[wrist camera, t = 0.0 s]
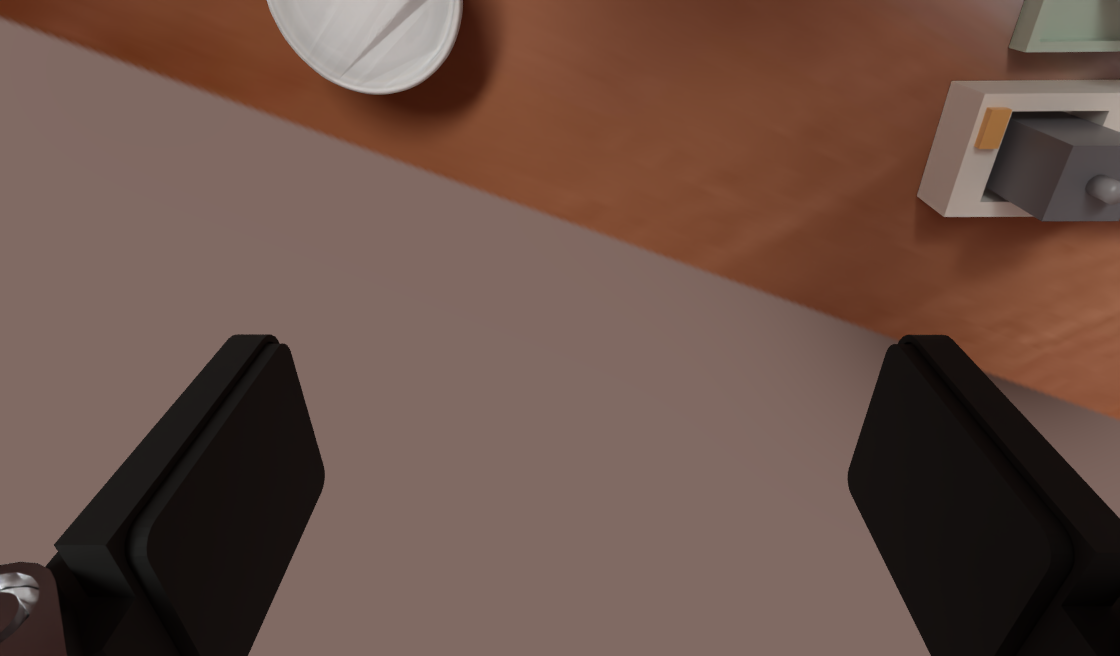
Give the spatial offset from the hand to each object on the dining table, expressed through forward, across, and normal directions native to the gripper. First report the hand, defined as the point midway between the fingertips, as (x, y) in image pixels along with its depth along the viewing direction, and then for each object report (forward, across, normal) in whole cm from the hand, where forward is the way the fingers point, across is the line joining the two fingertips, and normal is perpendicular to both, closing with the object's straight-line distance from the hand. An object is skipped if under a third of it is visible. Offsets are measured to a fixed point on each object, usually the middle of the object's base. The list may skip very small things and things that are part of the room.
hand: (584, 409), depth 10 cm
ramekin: (+37, +12, -4) cm, 39 cm away
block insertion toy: (+37, -35, +6) cm, 51 cm away
